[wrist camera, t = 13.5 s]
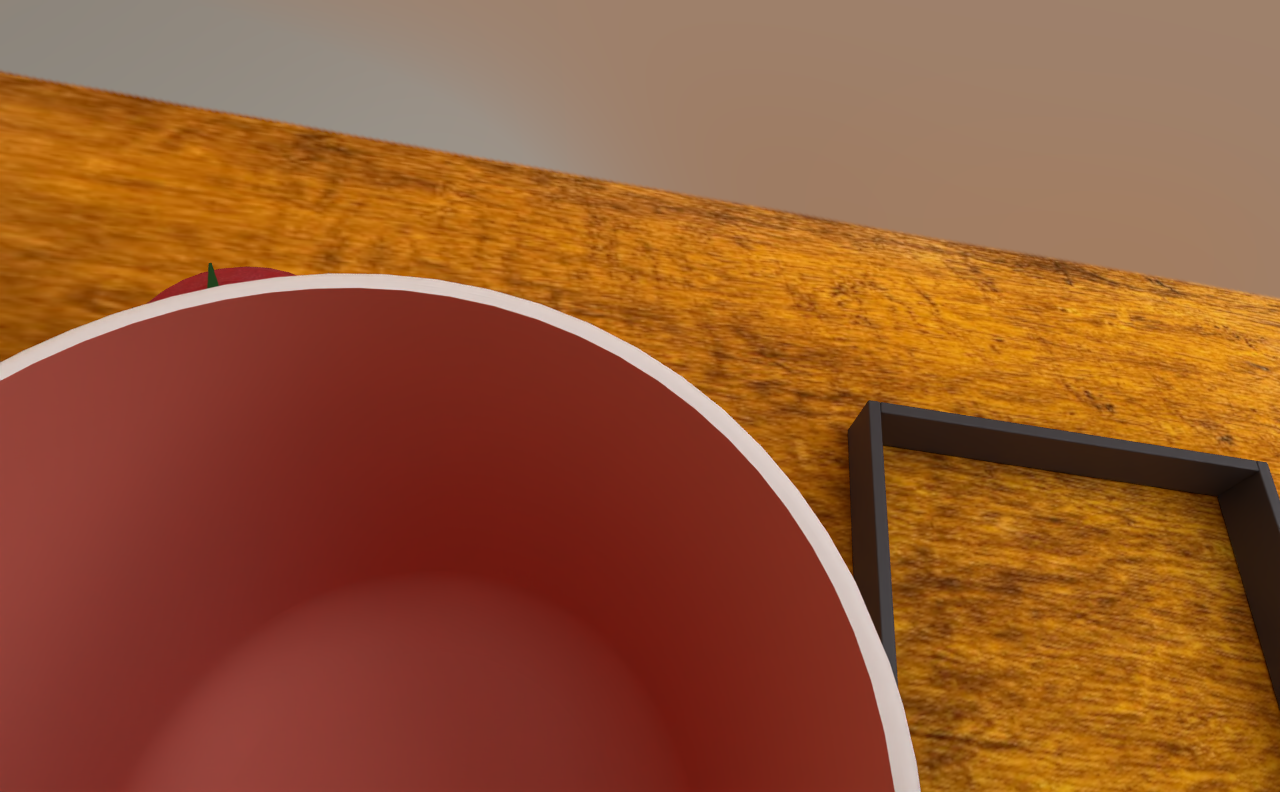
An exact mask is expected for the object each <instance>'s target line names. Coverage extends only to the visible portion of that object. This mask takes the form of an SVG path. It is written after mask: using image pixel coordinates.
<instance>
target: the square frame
mask: <svg viewBox="0 0 1280 792" xmlns="http://www.w3.org/2000/svg"><path fill="white" fill-rule="evenodd" d="M848 445H849V471H850V497H851V522H852V548H853V574H854V580H855V582H856V584H857V586H858V589H859V591H860V594H861V596H862V598H863V601H864V603H865V605H866V608H867V610H868V612H869V615H870V617H871V620H872V622H873V624H874V627H875V629H876V631H877V634H878V636H879V638H880V641H881V643H882V646H883V648H884V650H885V653H886V655H887V657H888V660H889V662H890V665H891V668H892V672H893V675H894V678H895V681H896V685H897V688H898V680H897V664H896V648H895V633H894V617H893V601H892V585H891V569H890V554H889V538H888V522H887V506H886V490H885V475H884V459H883V445H887V446H893V447H900V448H906V449H913V450H919V451H926V452H932V453H939V454H945V455H952V456H958V457H965V458H971V459H978V460H984V461H991V462H997V463H1004V464H1010V465H1017V466H1024V467H1030V468H1037V469H1043V470H1050V471H1056V472H1063V473H1069V474H1076V475H1082V476H1089V477H1095V478H1102V479H1108V480H1115V481H1121V482H1128V483H1134V484H1141V485H1148V486H1154V487H1161V488H1167V489H1174V490H1180V491H1187V492H1193V493H1200V494H1206V495H1213V496H1218V500H1219V503H1220V506H1221V510H1222V513H1223V517H1224V520H1225V523H1226V527H1227V530H1228V534H1229V537H1230V540H1231V544H1232V547H1233V551H1234V554H1235V558H1236V561H1237V564H1238V568H1239V571H1240V575H1241V578H1242V581H1243V585H1244V588H1245V592H1246V595H1247V598H1248V602H1249V605H1250V609H1251V612H1252V616H1253V619H1254V622H1255V626H1256V629H1257V633H1258V636H1259V639H1260V643H1261V646H1262V650H1263V653H1264V656H1265V660H1266V663H1267V667H1268V670H1269V674H1270V677H1271V680H1272V684H1273V687H1274V691H1275V694H1276V697H1277V701H1278V704H1279V708H1280V500H1279V497H1278V494H1277V491H1276V488H1275V485H1274V482H1273V479H1272V476H1271V473H1270V470H1269V467H1268V464H1267V463H1266V462H1260V461H1254V460H1247V459H1241V458H1235V457H1228V456H1222V455H1215V454H1209V453H1203V452H1196V451H1190V450H1183V449H1177V448H1171V447H1164V446H1158V445H1151V444H1145V443H1139V442H1132V441H1126V440H1119V439H1113V438H1107V437H1100V436H1094V435H1087V434H1081V433H1075V432H1068V431H1062V430H1055V429H1049V428H1043V427H1036V426H1030V425H1023V424H1017V423H1011V422H1004V421H998V420H992V419H985V418H979V417H972V416H966V415H960V414H953V413H947V412H940V411H934V410H928V409H921V408H915V407H908V406H902V405H896V404H889V403H883V402H881V403H880V402H876V401H868V402H867V403H866V405H865V406H864V408H863V409H862V411H861V412H860V414H859V415H858V416H857V418H856V419H855V421H854V422H853V424H852V425H851V427H850V428H849V429H848Z"/></svg>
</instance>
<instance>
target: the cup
mask: <svg viewBox="0 0 1280 792" xmlns="http://www.w3.org/2000/svg"><path fill="white" fill-rule="evenodd" d="M0 792H921V790H920V783H919V777H918V771H917V764H916V759H915V754H914V750H913V746H912V741H911V737H910V733H909V728H908V724H907V720H906V715H905V711H904V707H903V704H902V701H901V698H900V694H899V691H898V688H897V685H896V681H895V678H894V675H893V672H892V668H891V665H890V662H889V660H888V657H887V655H886V653H885V650H884V648H883V646H882V643H881V641H880V638H879V636H878V634H877V631H876V629H875V627H874V624H873V622H872V620H871V617H870V615H869V612H868V610H867V608H866V605H865V603H864V601H863V598H862V596H861V594H860V591H859V589H858V586H857V584H856V582H855V580H854V578H853V576H852V575H851V573H850V571H849V569H848V568H847V566H846V564H845V562H844V561H843V559H842V557H841V555H840V553H839V552H838V550H837V548H836V546H835V545H834V543H833V541H832V539H831V537H830V536H829V534H828V532H827V531H826V530H825V528H824V527H823V525H822V524H821V522H820V521H819V519H818V518H817V517H816V515H815V514H814V512H813V511H812V509H811V508H810V506H809V505H808V504H807V502H806V501H805V499H804V498H803V496H802V495H801V493H800V492H799V491H798V489H797V488H796V487H795V486H794V484H793V483H792V482H791V481H790V480H789V478H788V477H787V476H786V475H785V474H784V473H783V471H782V470H781V469H780V468H779V467H778V465H777V464H776V463H775V462H774V461H773V459H772V458H771V457H770V456H769V455H768V454H767V452H766V451H765V450H764V449H763V448H762V447H761V446H760V445H759V444H758V443H757V442H756V441H755V440H754V439H753V438H752V437H751V436H750V435H749V434H748V433H747V432H746V431H745V430H744V429H743V428H742V427H741V426H740V425H739V424H738V423H737V422H736V421H735V420H734V419H733V418H732V417H731V416H730V415H728V414H727V413H726V412H725V411H724V410H723V409H722V408H721V407H719V406H718V405H717V404H716V403H714V402H713V401H712V400H711V399H709V398H708V397H707V396H706V395H704V394H703V393H702V392H701V391H699V390H698V389H697V388H696V387H694V386H693V385H692V384H691V383H689V382H688V381H687V380H686V379H684V378H683V377H682V376H680V375H679V374H677V373H675V372H674V371H672V370H671V369H669V368H668V367H666V366H665V365H663V364H662V363H660V362H658V361H657V360H655V359H654V358H652V357H651V356H649V355H648V354H646V353H644V352H643V351H641V350H640V349H638V348H637V347H635V346H633V345H631V344H629V343H627V342H625V341H623V340H621V339H619V338H617V337H615V336H613V335H611V334H609V333H607V332H605V331H603V330H601V329H599V328H598V327H596V326H594V325H592V324H590V323H587V322H585V321H582V320H580V319H577V318H574V317H572V316H569V315H567V314H564V313H562V312H559V311H557V310H554V309H552V308H549V307H546V306H544V305H541V304H538V303H535V302H531V301H528V300H524V299H521V298H517V297H514V296H510V295H507V294H503V293H500V292H496V291H493V290H489V289H485V288H479V287H474V286H469V285H463V284H458V283H453V282H447V281H442V280H437V279H427V278H416V277H406V276H396V275H385V274H317V275H302V276H288V277H275V278H268V279H261V280H254V281H248V282H241V283H234V284H227V285H222V286H217V287H213V288H208V289H204V290H199V291H195V292H190V293H186V294H181V295H177V296H172V297H168V298H165V299H162V300H158V301H155V302H152V303H148V304H145V305H142V306H138V307H135V308H132V309H129V310H125V311H122V312H119V313H115V314H112V315H110V316H107V317H104V318H102V319H99V320H96V321H94V322H91V323H88V324H86V325H83V326H80V327H78V328H75V329H72V330H70V331H67V332H65V333H63V334H60V335H58V336H56V337H54V338H51V339H49V340H47V341H45V342H42V343H40V344H38V345H35V346H33V347H31V348H29V349H26V350H24V351H22V352H20V353H18V354H16V355H14V356H12V357H10V358H8V359H6V360H5V361H3V362H1V363H0Z"/></svg>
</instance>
